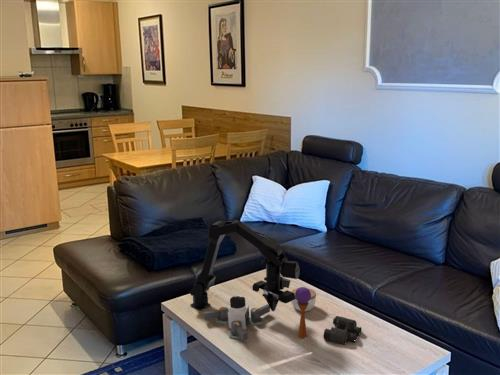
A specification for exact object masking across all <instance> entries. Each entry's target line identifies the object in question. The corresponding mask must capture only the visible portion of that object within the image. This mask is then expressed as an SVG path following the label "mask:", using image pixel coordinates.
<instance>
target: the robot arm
mask: <svg viewBox="0 0 500 375" xmlns="http://www.w3.org/2000/svg"><path fill="white" fill-rule="evenodd" d="M207 230H208V232H207V237H208V245H207V250H206V252H205V257H204V261H203V265H202V269H201V271H200V273H199V275H198V276H197V278H196V280H195V282H194V285H193V287H192V288H190V290H189V294H190V296H192V303H191V304H190V306H191V307H192V308H194V309H197V310H199V311H201V310H202V309H205V308H208V307H210V306H211V303H210V302H209V297H208V293H207V291H209V290H210V288H212V286H213V285H215V280H216V278H217V276H216V275H214V272H213V271H214V267H215V263H216V259H217V256H218V252H219V249H220V245H221V243H222V241H223V239H224V238H225V236H226V235H227V234H230V233H231V234H232V233H235V234H236V235H238V236H240V237H241V238H242V239H243V240H245V241H246V242H248V243H250V244H251V245H252V246H253V247H254V248H256V249H257V250H258V251H259V253H260V255H261V256H263V257H264V260H262V261H261V263H260V264H261V265H263V266H265V270H266V272H265V274H266V275H265V277H264V278H263V280H259V281H257V282H254V283H253V285H252V287H251V288H252V291H254V292H257V293H258V292H259V291H260V289H261V290H262V291H263V293H262V297H264V300H265V301H266V304H268V305H269V307H270V312H275V311H276V308H277V307H278V304H279V302H280V303H283V304H288V303H290V302H292V300H294V299H295V294H294V293H293V292H291V291H292V290H291V291H290V290H287V289H290V284H291V280H290V279H292V280H293V279H294V280H298V278H299V277H300V270H301V269H300V265H299V262H298V261H297V260H296V261H292V260H288V257H287V256H286V254H285V253H284V251H283V249H282V248H283V247H282V246H281V245H280V244H279V243H277V242H275V241H272V240H269V239H266V238H264V237H263V236H261V235H260V234H258V233H257V232H256V231H253V230H252V229H251V228H250V227H248V226H247V225H246V224H243V223H242V221H241V220H237V219H236V220H232V221H231V220H230V221H229V220H228V221H223V220H219V221H217V222H215V223H213V224H211V225H210V226H209V228H208V229H207ZM278 258H279V259H278ZM285 288H287V289H286V290H285V291H284V289H285Z"/></svg>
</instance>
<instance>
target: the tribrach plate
mask: <svg viewBox="0 0 500 375" xmlns="http://www.w3.org/2000/svg"><path fill="white" fill-rule="evenodd" d="M214 320H215V322H216V323H217V324H220V325H229V321H228V320H225V321H222V320H220V319H219V318H216V319H214ZM263 323H264V319H263V317H262V316H260V321H257V322H254V321H251V318H250V321H249V324H248V325H250V326H259V325H262V324H263ZM228 338H230V339H234V340H239V339H240V340H241V338H240V336H239V335H233V334H232V333H231V330H229V331H228Z"/></svg>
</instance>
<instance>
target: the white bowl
mask: <svg viewBox="0 0 500 375" xmlns="http://www.w3.org/2000/svg"><path fill="white" fill-rule="evenodd" d="M298 288H299V287H297V288H294V289H292V290H291V292H293V293H294V294H295V292H296V290H297V289H298ZM306 288H307V289H309V290H310V292H311V298H310V300H309V301H308V303H309V304H308V306H307V308H306V309H305V311H304V313H305V312H310V311H311V310H312V309H313V308H314V307H315V306H316V299H317V298H316V297H317V292H316V291H315V290H314V289H312V288H309V287H306ZM297 302H298V301H297V300H296V297H295V299H294V300H292V301H291V304H292V307H293V308H294V309H295V310H296V311H298V312H301V310H300V308H299V306H298V303H297Z"/></svg>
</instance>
